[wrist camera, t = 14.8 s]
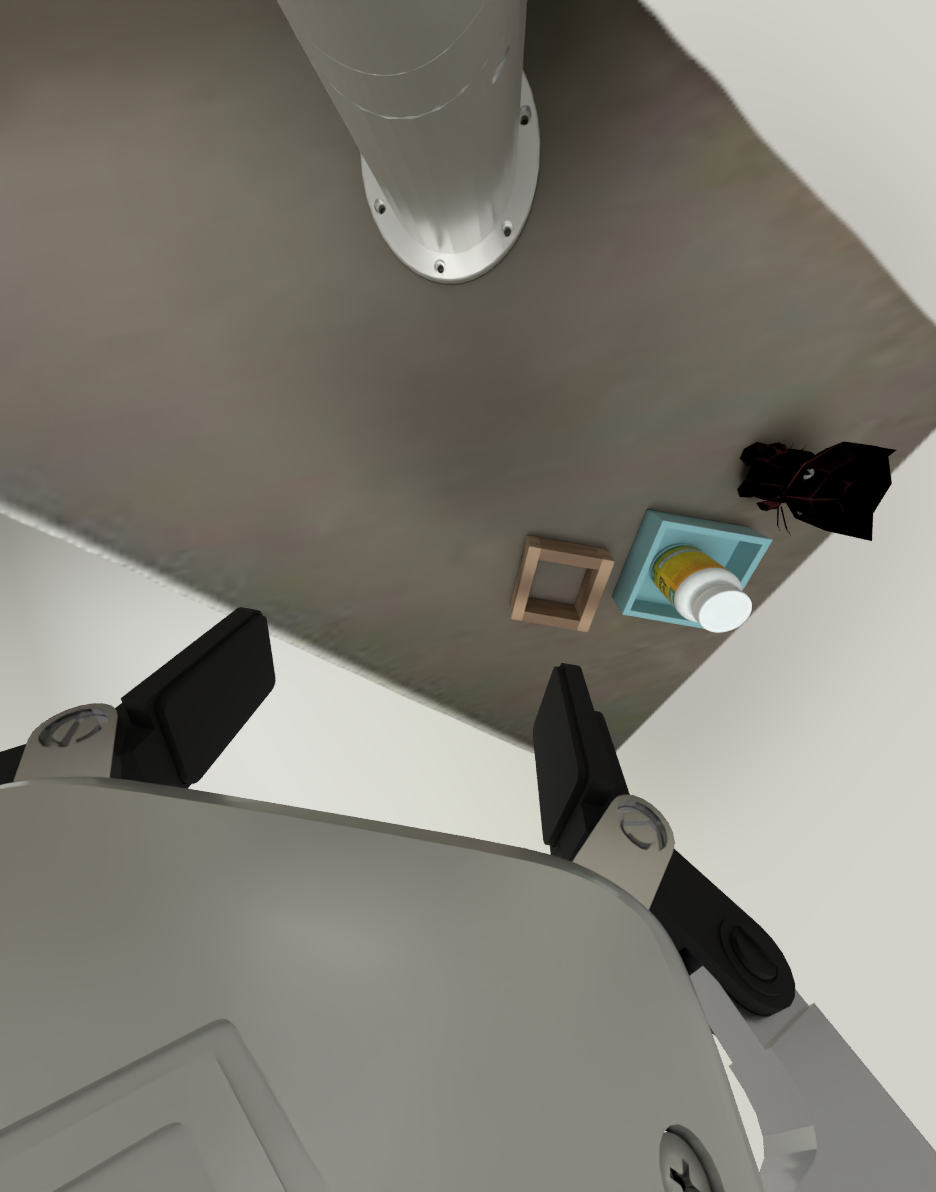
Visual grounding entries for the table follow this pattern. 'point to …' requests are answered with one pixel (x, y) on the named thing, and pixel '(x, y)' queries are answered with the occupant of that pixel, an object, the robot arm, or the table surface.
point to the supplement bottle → (700, 588)
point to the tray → (715, 539)
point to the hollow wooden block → (555, 612)
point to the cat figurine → (820, 484)
